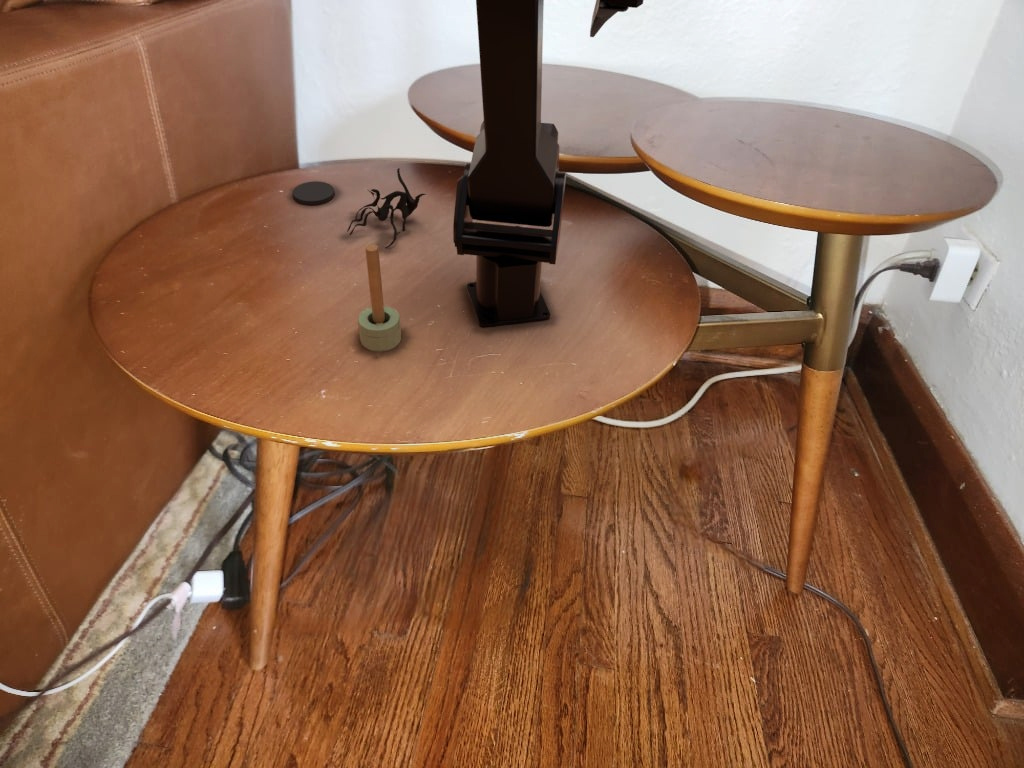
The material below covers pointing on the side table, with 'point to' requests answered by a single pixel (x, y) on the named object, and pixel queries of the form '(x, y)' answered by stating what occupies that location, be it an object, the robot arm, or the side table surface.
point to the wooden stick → (375, 283)
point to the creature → (390, 207)
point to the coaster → (313, 193)
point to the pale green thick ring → (379, 330)
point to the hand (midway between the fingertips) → (549, 29)
